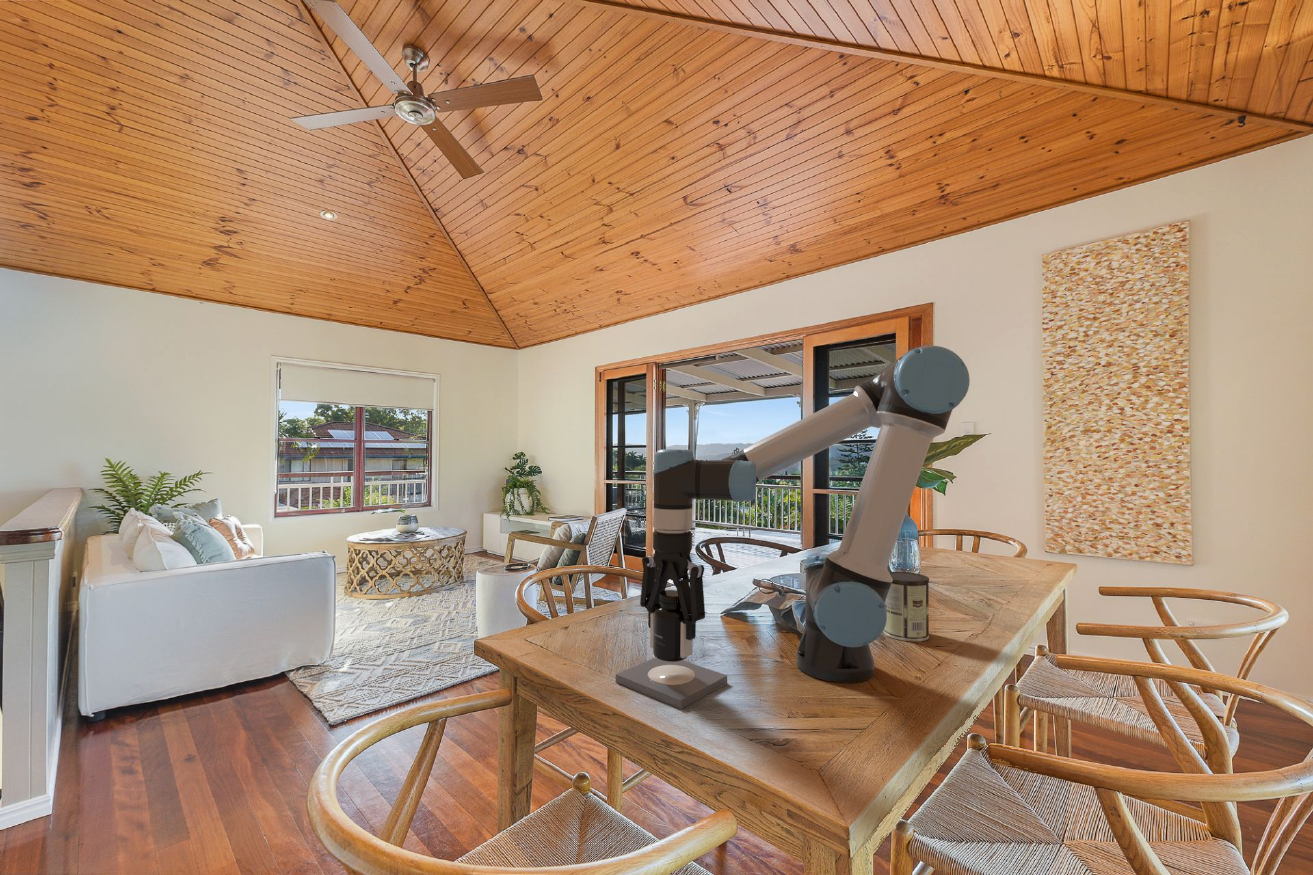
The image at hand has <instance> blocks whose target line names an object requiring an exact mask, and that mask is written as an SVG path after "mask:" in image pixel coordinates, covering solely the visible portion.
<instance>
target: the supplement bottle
mask: <svg viewBox="0 0 1313 875" xmlns="http://www.w3.org/2000/svg"><path fill="white" fill-rule="evenodd" d="M659 603H660V605H659V606H657V607H656V609H655V610H654V630H653V648H652V653H653V656H654V658H655V657H656V658H657V659H659V660H662V661H666V662H677V661H682V660H683V661H685V660H686V659H687V658H688V657H685V658H681V657H680V641H681V622H682V621H684V616H683V612H682V608H681V604H680V600H679V596H678V592H677V589H665V590H664V591H661V592H660V599H659Z"/></svg>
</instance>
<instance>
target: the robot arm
mask: <svg viewBox="0 0 1313 875" xmlns="http://www.w3.org/2000/svg"><path fill="white" fill-rule="evenodd" d="M970 382H971V381H970V373H969V369H968V367H967V365H966V364H965V362H964V361H963V359H962V358H961V357H960V356H959V355H958V354H957V353H956V352H954V351H953V350H951V349H949V348H946V347H943V346H939V345H924V346H920V347H918V346H917V347H915V348H912V349H909V350H908V351H907V352H905V353H903V355H901V356H900V357H898V358H897V359H895V360H893V361H892V362H890V363H889V364H887V366H886V367H883V369H882V370H880V371H879V372H878V373H876V374H875V375H873V376H872V377H871V378H869V379H867V380H866V381H865V380H864V382H862V383H860V384H858V385H856V386H855V387H854V389H853V393H851V394H849V395H847V396H845V397H843V398H842V399H840V400H838V401H835V402H833V403H832V404H829V405H828V406H826V407H824V408H821V409H820V410H818V411H816V412H814V413H812V414H810V415H808V416H806V417H804V418H802V419H800V420H798V421H796V422H793V423H792V424H790V425H788V426H786V427H784V428H782V429H780V430H779V431H778V430H777V432H774V433H772V434H770V435H769V436H766V437H765V438H762V439H760V440H759V441H757V442H754V443H753V444H751V445H749V446H747V447H745V448H743V449H742V450H739V451H737V452H735V453H734V454H731V455H729V456H727V457H725V458H722V459H720V460H714V459H713V460H702V459H695V457H694V452H693V450H691V449H675V448H674V449H673V448H670V449H668V448H667V449H662V448H661V449H659V450H658V449H657V451H656V452H655V454H654V462H653V463H654V466H653V472H652V475H653V479H652V480H653V507H652V508H653V512H652V527H653V528H654V531H653V532H652V549H653V550H654V554H653V555H648V556H647V555H646V556H643V557H642V559H641V563H642V568H643V569H642V579H641V580H642V581H641V590H640V600H639V605H640V607H641V608H645V609H646V611H647V616H648V617H647V619H648V620H647V623H648V624H647V625H648V628H649V629H650V631H649V632H650V635H649V636H650V637H649V647H650V648H652V649H653V630H654V610H655V609H656V607H657V606H659V605H660V603H659V599H660V592H661V591H664V590H666V588H667V585H668V582H669V581H672V583H673V586H674V587H676V590H677V592H678V596H679V600H680V604H681V608H682V612H683V616H684V621H682V622H681V641H680V657H681V658H685V657H687V658H688V657H690V656H692V655H693V646H694V645H693V640H694V639H696V636H697V635H696V632H697V631H696V629H697V628H696V627H697V626H696V625H697V624H696V623H697V622H698V621H702V620H704V619H705V618H706V608H705V595H704V594H705V593H704V583H703V582H704V581H703V580H704V578H703V577H704V573H705V566H704V565H703V564H700V565H697V564H695V563H694V562H693V561H692V558H691V551H692V550H693V533H692V531H691V529H692V528H693V501H694V500H708V501H709V500H710V501H731V502H737V503H739V502H749V501H750V502H753V500H756V497H757V483H758V482H760V481H763V480H766V479H767V478H769V477H771V476H773V475H775V474H777V473H779V472H781V471H783V470H785V469H787V468H789V467H791V466H793V465H796V464H798V463H799V462H802V461H803V460H805V459H807V458H809V457H812V456H814V455H816V454H818V453H820V452H822V451H824V450H826V449H828V448H830V447H832V446H834V445H837V444H838V443H841V442H842V441H845V440H847V439H849V438H850V437H851V438H852V436H855V435H857V434H859V433H861V432H863V431H865V430H867V429H869V428H871V427H872V428H877V429H879V431H878V434H877V437H876V440H875V444H874V446H873V449H872V453H871V455H870V456H869V460H868V464H867V465H866V469H865V473H864V475H863V478H862V481H861V483H860V487H859V490H858V493H857V495H856V498H855V501H854V504H853V507H852V510H851V513H850V515H849V518H848V521H847V524H846V527H845V530H844V533H843V536H842V539H841V543H840V545H839V547H838V549H837V550H834V551H832V552H830V553H814V554H813V553H812V554H809V555H808V556H806V559H805V566H804V571H805V626H804V631H803V633H802V636H801V638H800V642H799V643H798V644H799V645H798V646H797V647H798V648H797V651H796V666H797V667H798V669H799V670H800V671H802V672H803V673H804V674H806V675H808V676H810V677H813V678H816V679H818V680H822V681H827V682H834V683H842V684H843V683H844V684H845V683H846V684H847V683H849V684H853V683H854V684H855V683H860V682H861V683H862V682H865V681H868V680H871V679H872V678H873V677H874V676H875V660H874V657H873V656H874V655H873V654H872V650H871V648H870V644H871V643H873V642H875V641H876V640H877V639H879V637H880V636H881V635H882V633H883V630H884V628H885V626H886V622H887V609H886V606H885V601H886V598H887V595H888V592H889V589H890V587H891V584H892V581H893V579H892V577H891V575H890V573H889V572H890V571H889V570H888V569H889V567H888V565H889V564H890V560H891V558H892V555H893V552H894V548H895V546H896V543H897V541H898V537H899V534H900V532H901V529H902V525H903V523H904V520H905V517H906V514H907V511H908V509H909V506H910V503H911V500H912V498H913V494H914V493H915V492H914V491H915V488H916V485H917V482H918V480H919V477H920V474H921V471H922V468H923V465H924V462H925V460H926V457H927V455H928V451H929V448H930V446H931V444H932V440H933V439H934V438H936V437H938V436H940V435H943V434H944V433H945V431H946V429H947V426H948V423H949V421H950V418H951V415H952V412H953V410H954V409H955V408H957V407H958V406H959V405H960V404H961V402H963V400H964V399H965V397H966V396H967V393H968V392H969V387H970Z"/></svg>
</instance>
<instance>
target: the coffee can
mask: <svg viewBox="0 0 1313 875" xmlns="http://www.w3.org/2000/svg"><path fill="white" fill-rule="evenodd" d="M889 573H890V575H891V577H892V579H893V581H892V584H891V587H890V589H889V592H888V595H887V598H886V601H885V606H886V609H887V622H886V626H885V628H884V630H883V632H882V633H883V634H884V635H885V636H886V637H889V638H892V639H895V640H899V641H904V642H911V643H912V642H916V643H917V642H918V643H919V642H924V641H927V640H929V638H930V634H929V633H930V632H929V630H930V628H929V627H930V625H929V624H930V621H929V620H930V619H929V618H930V617H929V615H930V613H929V612H930V610H929V607H930V606H929V604H930V603H929V600H930V599H929V597H930V596H929V587H930V586H929V582H930V578H929V577H928V576H927V575H924V574H920V573H917V572H911V571H889Z"/></svg>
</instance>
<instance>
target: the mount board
mask: <svg viewBox="0 0 1313 875" xmlns="http://www.w3.org/2000/svg"><path fill="white" fill-rule="evenodd" d="M615 683H616V684H619V685H622V686H624V687H627V688H629V689H631V690H634V691H637V692H638V693H641V694H643V695H645V696H648V697H650V698H653V699H655V700H658V701H661V702H663V703H664V704H668V705H670V706H672V707H675V708H677V709H679V710H682V709H684V708H686V707H687V706H689V705H691V704H693V703H694V702H696V701H698V700H700V699H701V698H703V697H705V696H707V695H708V694H711V693H712V692H714V691H716V690H718V689H720V688H721V687H723V686H725V685H727V684H728V675H727V674H724V673H721V672H719V671H716V670H712V669H710V668H706V667H704V666H700V665H698V664H694V663H692V662H689V661H686V660H682V661H677V662H666V661H662V660H659V659H657V658H656V657H655V656H654V657H653V658H651V659H649V660H645V661H644V662H642V663H639V664H637V665H633V666H632V667H630V668H627V669H624V670H623V671H620V672H618V673H616V674H615Z"/></svg>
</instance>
